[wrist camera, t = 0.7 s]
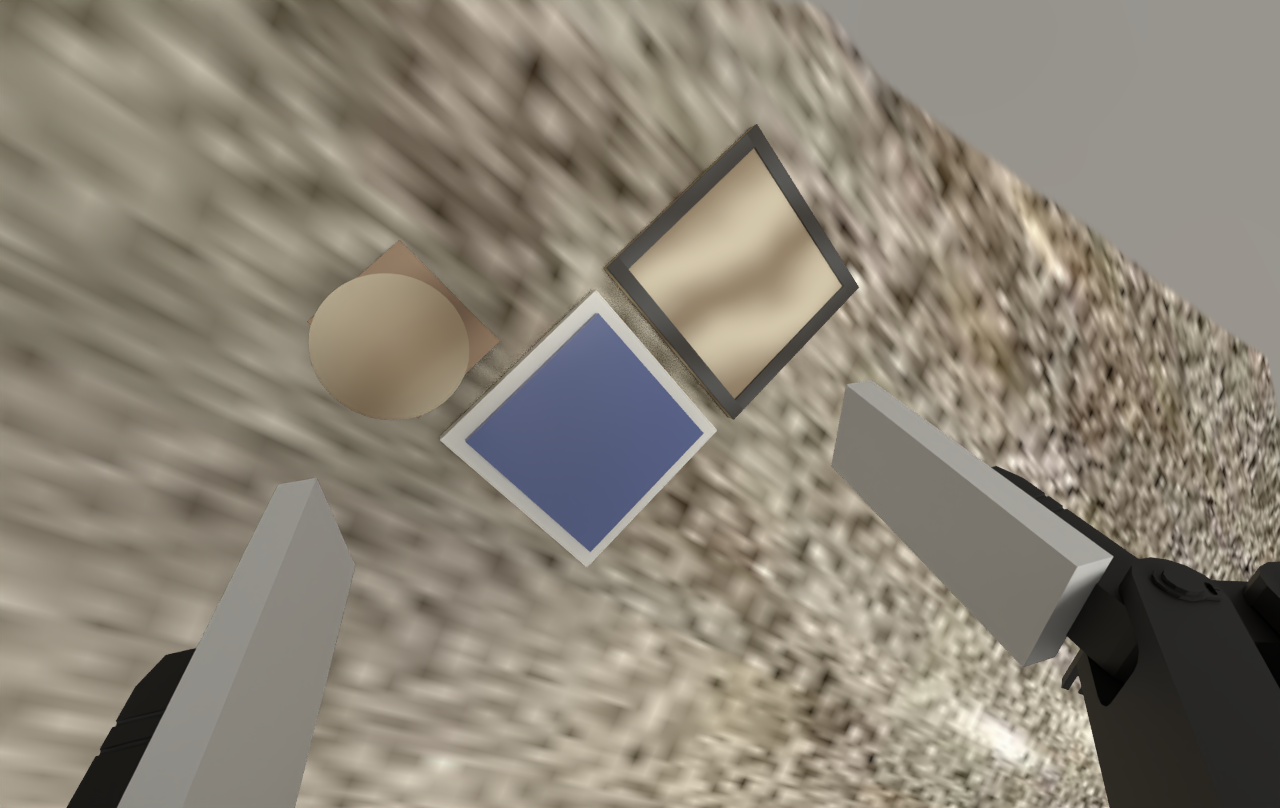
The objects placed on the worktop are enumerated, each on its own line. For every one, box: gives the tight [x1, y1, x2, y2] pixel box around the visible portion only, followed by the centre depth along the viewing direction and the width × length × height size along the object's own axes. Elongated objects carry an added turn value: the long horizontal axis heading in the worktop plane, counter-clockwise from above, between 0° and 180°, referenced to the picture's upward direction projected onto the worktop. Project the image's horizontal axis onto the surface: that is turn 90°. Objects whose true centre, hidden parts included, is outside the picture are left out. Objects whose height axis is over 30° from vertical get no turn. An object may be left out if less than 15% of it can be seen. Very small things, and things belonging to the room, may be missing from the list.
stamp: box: [307, 240, 500, 420], centre depth 24 cm, size 7×6×14 cm
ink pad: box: [440, 290, 717, 567], centre depth 35 cm, size 13×13×2 cm
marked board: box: [603, 124, 859, 419], centre depth 37 cm, size 14×14×1 cm
